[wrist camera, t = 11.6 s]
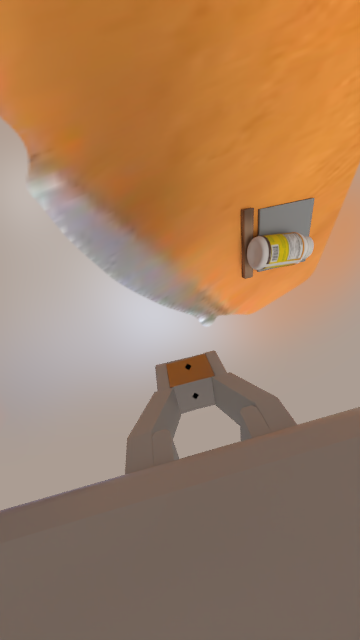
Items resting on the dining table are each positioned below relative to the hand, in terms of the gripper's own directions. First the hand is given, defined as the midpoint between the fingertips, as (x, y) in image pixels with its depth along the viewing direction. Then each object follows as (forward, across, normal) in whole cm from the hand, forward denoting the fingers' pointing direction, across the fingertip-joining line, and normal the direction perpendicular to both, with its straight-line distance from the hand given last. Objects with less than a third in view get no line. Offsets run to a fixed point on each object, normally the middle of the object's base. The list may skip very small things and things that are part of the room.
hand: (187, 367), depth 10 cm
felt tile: (+29, -24, +2) cm, 38 cm away
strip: (+29, -17, +2) cm, 34 cm away
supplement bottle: (+25, -16, +3) cm, 30 cm away
